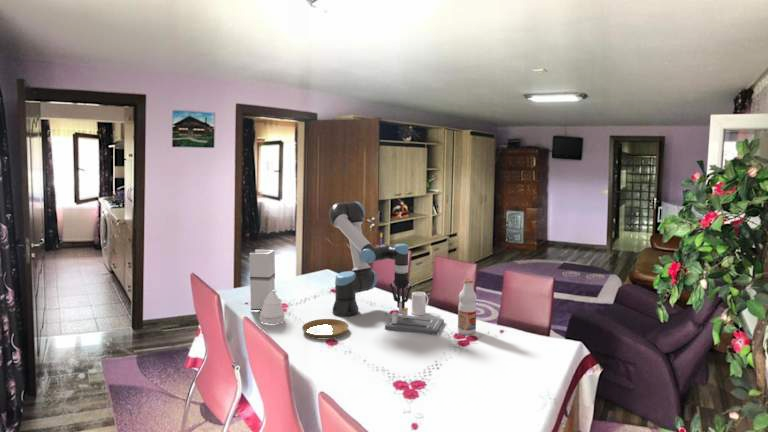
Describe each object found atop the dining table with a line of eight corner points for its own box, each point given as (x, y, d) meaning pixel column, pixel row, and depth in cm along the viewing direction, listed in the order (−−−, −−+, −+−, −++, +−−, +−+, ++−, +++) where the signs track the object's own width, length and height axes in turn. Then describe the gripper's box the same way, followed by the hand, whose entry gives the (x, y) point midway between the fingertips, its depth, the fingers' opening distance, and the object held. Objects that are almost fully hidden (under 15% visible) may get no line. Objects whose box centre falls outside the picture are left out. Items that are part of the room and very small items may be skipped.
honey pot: (289, 321, 291) (288, 289, 289) (269, 326, 282) (268, 294, 280) (275, 315, 300) (274, 285, 298) (256, 321, 291) (255, 289, 288)
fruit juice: (459, 327, 283) (460, 277, 279) (476, 329, 280) (478, 278, 276) (456, 333, 274) (457, 281, 270) (474, 335, 271) (476, 282, 268)
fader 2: (401, 318, 290) (401, 309, 290) (403, 316, 294) (403, 307, 293) (406, 318, 290) (406, 309, 289) (407, 316, 293) (408, 307, 292)
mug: (424, 309, 314) (424, 289, 313) (433, 313, 307) (433, 293, 306) (408, 312, 308) (408, 292, 306) (416, 316, 301) (417, 296, 299)
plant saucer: (329, 344, 259) (329, 338, 258) (292, 335, 271) (292, 328, 271) (357, 330, 279) (357, 324, 279) (321, 321, 292) (321, 316, 291)
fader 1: (391, 323, 282) (391, 314, 281) (393, 321, 285) (393, 312, 284) (396, 323, 281) (396, 314, 280) (398, 321, 284) (398, 312, 283)
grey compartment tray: (384, 329, 280) (384, 325, 279) (394, 317, 299) (395, 314, 298) (436, 335, 272) (436, 331, 271) (443, 322, 291) (443, 319, 290)
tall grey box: (275, 307, 316) (274, 250, 311) (270, 312, 305) (268, 253, 301) (257, 306, 317) (255, 249, 312) (251, 312, 306) (249, 253, 302)
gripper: (388, 272, 287) (387, 314, 290) (411, 274, 283) (410, 316, 286) (391, 269, 294) (391, 310, 297) (414, 271, 290) (413, 312, 293)
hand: (400, 313), depth 292 cm, fingers closed
